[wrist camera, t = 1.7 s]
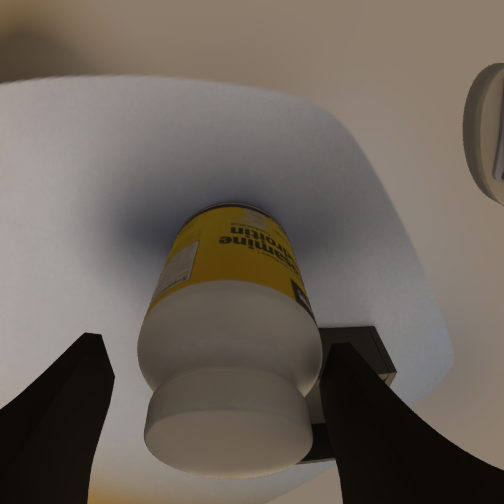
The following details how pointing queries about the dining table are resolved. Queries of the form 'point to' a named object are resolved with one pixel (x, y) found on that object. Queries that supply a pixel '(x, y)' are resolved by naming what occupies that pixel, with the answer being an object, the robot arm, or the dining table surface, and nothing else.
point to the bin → (363, 342)
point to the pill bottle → (230, 349)
